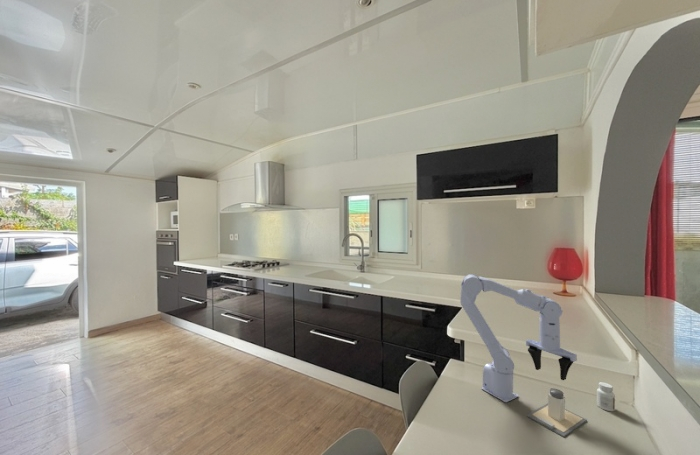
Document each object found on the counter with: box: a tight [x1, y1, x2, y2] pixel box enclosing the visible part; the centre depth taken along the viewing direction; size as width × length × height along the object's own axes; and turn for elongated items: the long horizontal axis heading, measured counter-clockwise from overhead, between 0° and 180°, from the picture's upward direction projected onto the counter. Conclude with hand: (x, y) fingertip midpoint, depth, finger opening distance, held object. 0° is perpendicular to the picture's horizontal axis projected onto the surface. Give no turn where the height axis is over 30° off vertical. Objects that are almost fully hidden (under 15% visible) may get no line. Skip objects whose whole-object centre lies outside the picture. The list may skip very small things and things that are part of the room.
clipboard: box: [526, 403, 588, 438], centre depth 85 cm, size 10×15×1 cm, turn 119°
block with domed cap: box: [547, 387, 566, 421], centre depth 85 cm, size 3×3×8 cm
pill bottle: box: [596, 381, 616, 412], centre depth 91 cm, size 4×4×8 cm
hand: (550, 374), depth 92 cm, fingers open, 7 cm apart
